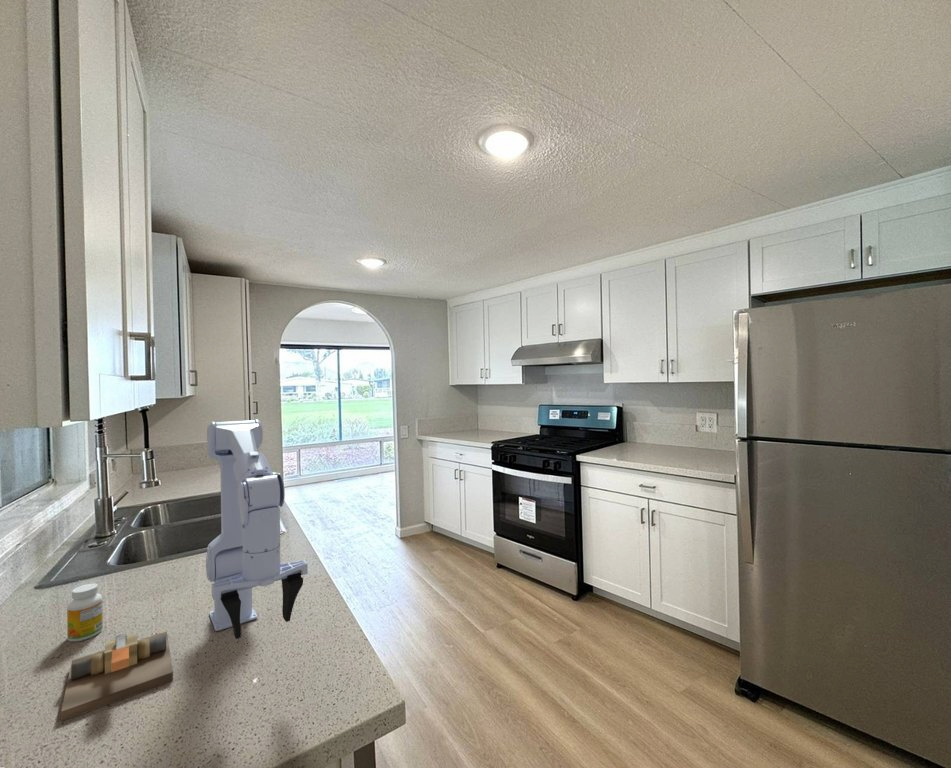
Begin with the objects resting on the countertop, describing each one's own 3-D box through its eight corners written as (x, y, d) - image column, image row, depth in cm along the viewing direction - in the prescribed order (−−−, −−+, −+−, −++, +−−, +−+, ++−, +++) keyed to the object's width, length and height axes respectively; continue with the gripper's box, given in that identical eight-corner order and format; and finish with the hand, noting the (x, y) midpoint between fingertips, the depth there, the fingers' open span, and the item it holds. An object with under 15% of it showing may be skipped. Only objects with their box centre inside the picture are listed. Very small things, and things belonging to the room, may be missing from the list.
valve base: (72, 668, 78) (71, 640, 78) (166, 638, 86) (166, 613, 87) (61, 721, 65) (60, 688, 65) (173, 680, 74) (172, 651, 74)
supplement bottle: (64, 636, 88) (64, 589, 88) (99, 624, 92) (98, 579, 92) (70, 645, 85) (70, 596, 85) (105, 633, 89) (105, 586, 89)
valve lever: (113, 642, 77) (113, 634, 77) (129, 637, 78) (129, 629, 78) (111, 672, 68) (111, 663, 68) (129, 666, 70) (128, 657, 70)
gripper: (216, 566, 65) (217, 656, 65) (313, 543, 74) (313, 621, 74) (209, 552, 70) (210, 635, 70) (300, 532, 79) (301, 605, 79)
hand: (262, 627), depth 72 cm, fingers open, 7 cm apart
